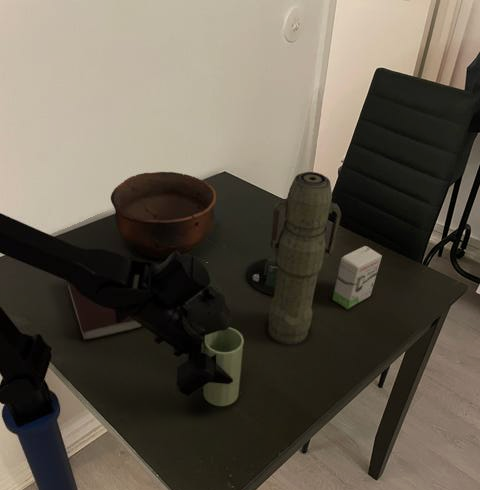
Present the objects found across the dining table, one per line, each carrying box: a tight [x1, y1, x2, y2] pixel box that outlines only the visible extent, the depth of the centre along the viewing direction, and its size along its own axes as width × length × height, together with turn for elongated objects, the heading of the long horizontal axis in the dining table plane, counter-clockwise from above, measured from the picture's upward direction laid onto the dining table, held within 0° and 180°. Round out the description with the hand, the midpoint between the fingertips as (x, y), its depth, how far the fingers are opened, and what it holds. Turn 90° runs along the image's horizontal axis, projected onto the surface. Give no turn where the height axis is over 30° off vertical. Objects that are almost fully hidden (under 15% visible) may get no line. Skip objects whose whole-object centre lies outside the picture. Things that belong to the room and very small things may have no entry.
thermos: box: [267, 171, 342, 345], centre depth 97 cm, size 9×12×35 cm
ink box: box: [332, 245, 383, 310], centre depth 114 cm, size 9×5×12 cm, turn 130°
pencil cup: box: [202, 326, 245, 407], centre depth 86 cm, size 6×6×13 cm
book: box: [67, 281, 143, 342], centre depth 110 cm, size 12×19×3 cm, turn 23°
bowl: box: [110, 171, 218, 260], centre depth 124 cm, size 25×25×15 cm
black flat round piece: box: [247, 253, 278, 297], centre depth 121 cm, size 15×15×6 cm
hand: (230, 367), depth 86 cm, fingers closed on pencil cup, 6 cm apart
